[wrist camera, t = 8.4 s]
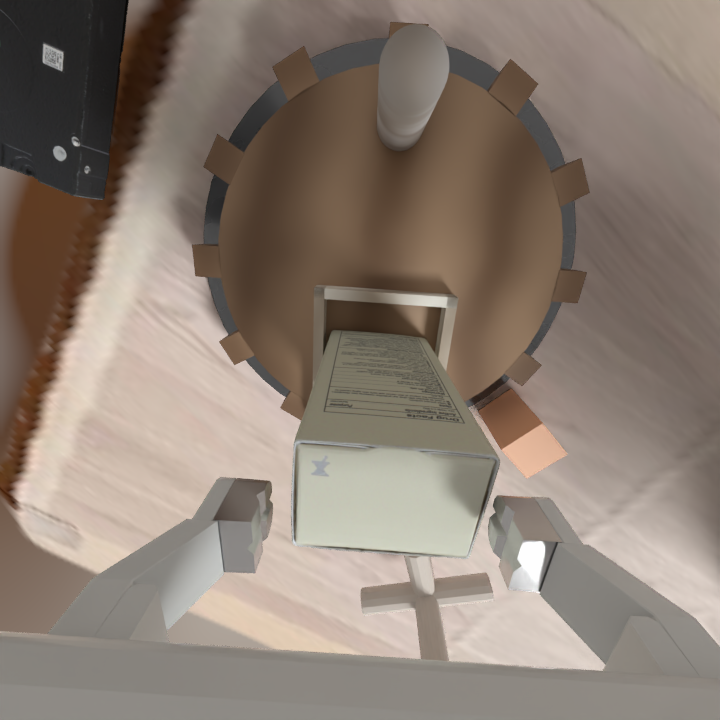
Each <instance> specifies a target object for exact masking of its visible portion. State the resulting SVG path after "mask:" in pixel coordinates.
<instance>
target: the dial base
mask: <svg viewBox="0 0 720 720" xmlns="http://www.w3.org/2000/svg"><path fill="white" fill-rule="evenodd" d="M388 40H389V38H387V39H371V40H366V41H361V42H356V43H351V44H346V45H343V46H341V47H338V48H335V49H333V50H330V51H327V52H325V53H322V54H319V55H317V56H315V57H313V58H312V59H310V61H311V63H312V66H313V68H314V70H315V72H316V75H317V77H318V79H319V81H321V80H323V79H325V78H327V77H330V76H332V75H335V74H338V73H341V72H344V71H347V70H349V69H352V68H358V67H363V66H369V65H374V64H379V62H380V57H381V54H382V51H383V49H384V47H385V45H386V43H387V41H388ZM446 48H447V51H448V55H449V72H450V73H453V74H456V75H459V76H461V77H463V78H465V79H467V80H468V81H470V82H472V83H474V84H476V85H478V86H480V87H482V88H483V89H485V90H486V91H487V90H488V89H489V87H490V86H491V84H492V83H493V81H494V80H495V78H496V77H497V75H498V74H499V72H498V71H496V70H495V69H494V68H492V67H491V66H490V65H488V64H487V63H485V62H483V61H481V60H479V59H477V58H475V57H473V56H471V55H469V54H467V53H465V52H463V51H461V50H457V49H454V48H451V47H448V46H446ZM287 102H288V99H287V97H286V95H285V93H284V91H283V89H282V87H281V84H280V82H279V80H278V81H277V82H276V83H275V84H273V85H272V86H271V87H269V89H268V90H267V91H266V92H265V93H264V94H263V95H262V96H261V97H260V98H259V99H258V100H257V101H256V102H255V103H254V104H253V105H252V107H251V108H250V109H249V110H248V112H247V113H246V114H245V116H244V117H243V119H242V120H241V122H240V123H239V124H238V126H237V127H236V129H235V130H234V131H233V133H232V135H231V137H230V139H229V142H230V143H232V144H233V145H235V146H236V147H237V148H239V149H240V150H242V151H243V152H245V150H246V148H247V147H248V145H249V144H250V142H251V141H252V140H253V138H254V137H255V136H256V134H257V133H258V132H259V130H260V129H261V127H262V126H263V125H264V124H265V123H266V122H267V121H268V120H269V119H270V118H271V117H272V116H273V115H274V114H275V113H276V112H277V111H278V110H279V109H280V108H281V107H282V106H283V105H284V104H285V103H287ZM516 117H517V118H518V119H519V120H520V121H521V122H522V123H523V124H524V126H525V127H526V129H527V130H528V131H529V133H530V134H531V136H532V137H533V138H534V140H535V141H536V142H537V144H538V146H539V148H540V150H541V152H542V154H543V156H544V158H545V160H546V162H547V164H548V166H549V168H550V171H551V170H553V169H555V168H557V167H559V166H562V165H564V164H565V162H564V159H563V156H562V153H561V150H560V148H559V146H558V144H557V142H556V140H555V138H554V136H553V134H552V132H551V130H550V129H549V127H548V125H547V123H546V122H545V121H544V119H543V118H542V116H541V115H540V114H539V112H538V111H537V109H536V108H535V107H534V105H533V104H532V102H531V101H530V100H529V99H527V101H526V102H525V104H524V105H523V107H522V108H521V109H520V111H519V112H518V114H517V115H516ZM228 187H229V184H228V183H226V182H225V181H223V180H222V179H220V178H219V177H217V176H216V175H215V174H214V176H213V179H212V182H211V187H210V191H209V196H208V201H207V205H206V213H205V225H204V244H217V245H219V244H218V239H219V229H220V220H221V213H222V209H223V205H224V201H225V196H226V192H227V189H228ZM560 209H561V214H562V230H563V246H562V260H561V267H560V268H562V269H571V268H572V263H573V258H574V248H575V235H576V223H575V203H574V201H572V202H570V203H567V204H565V205H563V206H561V207H560ZM208 282H209V286H210V289H211V293H212V296H213V299H214V303H215V306H216V308H217V311H218V313H219V315H220V318H221V320H222V322H223V325H224V327H225V329H226V331H227V332H228V334H231V333H233V332H234V331H236V330H238V329H237V327H236V325H235V322H234V320H233V317H232V315H231V313H230V310H229V308H228V305H227V301H226V297H225V294H224V290H223V286H222V281H221V278H214V277H208ZM561 303H562V302H553V301H551V304H550V307H549V309H548V312H547V314H546V316H545V318H544V320H543V322H542V324H541V326H540V328H539V330H538V332H537V333H536V335H535V336H534V338H533V339H532V341H531V343H530V344H529V346H528V347H527V349H526V350H525V351H524V352H525V353H527V354H528V355H529V356H531V355H532V353H533V352H534V351H535V350H536V348H537V347H538V346H539V344H540V342H541V341H542V339H543V338H544V336H545V335H546V333H547V331H548V330H549V328H550V326H551V324H552V322H553V320H554V318H555V316H556V314H557V312H558V310H559V308H560V306H561ZM246 361H247V362H248V364H249V365H250V366H251V367H252V368H253V369H254V370H255V371H256V372H257V373H258V374H259V375H260V376H261V378H262V379H263V380H265V381H266V382H267V383H268V384H269V385H271V386H272V387H273V388H274V389H275V390H276V391H278V392H279V393H280V394H282V395H283V396H285V397H286V396H287V394H288V393H289V391H290V390H288V389H287V388H286V387H284V386H283V385H282V384H281V383H280V382H279V381H278V380H276V379H275V378H274V377H273V376H272V375H271V374H270V373H269V372H268V371H267V370H266V369H265V368H264V367H263V366H262V364H261V363H260V362H259V361H258V360H257V359H256V357H255V356H252V357H250V358H248V359H246ZM508 379H509V377H508V376H506V375H505V374H503V375H502V376H501V377H500V378H499V379H498V380H496V381H495V382H494V383H493V384H491V385H490V386H489V387H488V388H486V389H485V390H484V391H482V392H481V393H479V394H477V395H476V396H474V397H472V398H471V399H469V400H467V401H466V402H465V404H466V405H467V407H470V406H472V405H473V404H475V403H477V402H478V401H480V400H481V399H483V398H485V397H486V396H488V395H490V394H491V393H492V392H493V391H495V390H496V389H497V388H499V387H500V386H501V385H502V384H504V383H505V382H506V381H507V380H508Z"/></svg>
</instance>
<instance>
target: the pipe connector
mask: <svg viewBox="0 0 720 720" xmlns="http://www.w3.org/2000/svg"><path fill="white" fill-rule="evenodd" d="M404 557H405V561H406V565H407V569H408V573H409V577H410V581H411V582H405V583H397V584H389V585H381V586H373V587H365V588H362V589H361V606H362V612H363V614H364V616H366V615H375V614H384V613H393V612H401V611H410V610H416V618H417V627H418V636H419V645H420V653H421V659H425V660H440V661H449V657H448V652H447V646H446V640H445V634H446V632H445V628H444V623H443V618H442V614H441V609H440V607H445V606H454V605H463V604H472V603H481V602H489V601H494V595H493V591H492V587H491V583H490V580H489V577H488V574H487V573H478V574H470V575H462V576H454V577H446V578H438V579H434V573H433V568H432V562H431V557H423V556H407V555H404Z"/></svg>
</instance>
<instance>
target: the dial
mask: <svg viewBox="0 0 720 720" xmlns="http://www.w3.org/2000/svg"><path fill="white" fill-rule="evenodd" d="M428 26H429V24H414V23H398V22H390V32H389V40H388V41H387V43H386V45H385V47H384V49H383V51H382V54H381V57H380V62H379V64H374V65H369V66H363V67H358V68H352V69H349V70H347V71H344V72H341V73H338V74H335V75H332V76H330V77H327V78H325V79H323V80H321V81H319V79H318V77H317V75H316V72H315V70H314V68H313V66H312V63H311V61H310V59H309V56H308V54H307V52H306V50H305V47H304V46H303V47H302V48H300V49H299V50H297V51H296V52H294V53H293V54H291V55H290V56H288V57H287V58H285V59H284V60H282V61H281V62H279V63H278V64H276V65H275V66H273V70H274V72H275V74H276V76H277V78H278V80H279V82H280V84H281V87H282V89H283V91H284V93H285V95H286V97H287V99H288V102H287V103H285V104H284V105H283V106H282V107H281V108H280V109H279V110H278V111H277V112H276V113H275V114H274V115H273V116H272V117H271V118H270V119H269V120H268V121H267V122H266V123H265V124H264V125H263V126H262V127H261V129H260V130H259V132H258V133H257V134H256V136H255V137H254V138H253V140H252V141H251V142H250V144H249V145H248V147H247V148H246V150H245V152H243V151H242V150H240V149H239V148H237V147H236V146H235V145H233V144H232V143H230V142H229V141H227V140H226V139H224V138H223V137H221V136H219V135H218V134H217V136H216V139H215V141H214V143H213V146H212V148H211V150H210V153H209V155H208V157H207V160H206V162H205V165H204V168H206V169H207V170H209V171H210V172H212V173H213V174H215V175H216V176H217V177H219V178H220V179H222V180H223V181H225V182H226V183H228V184H229V187H228V189H227V192H226V196H225V201H224V205H223V209H222V213H221V220H220V229H219V239H218V244H219V245H217V244H197V245H192V248H193V257H194V267H195V276H200V277H214V278H221V281H222V286H223V290H224V294H225V297H226V301H227V305H228V308H229V310H230V313H231V315H232V317H233V320H234V322H235V325H236V327H237V329H238V330H236V331H234V332H233V333H231V334H229V335H228V336H227V337H225V338H224V339H222V340H221V341H219V342H220V344H221V345H222V347H223V348H224V350H225V351H226V353H227V354H228V356H229V357H230V359H231V360H232V362H233V363H234V365H236V364H238V363H240V362H242V361H244V360H246V359H248V358H250V357H252V356H255V357H256V359H257V360H258V361H259V362H260V363H261V364H262V366H263V367H264V368H265V369H266V370H267V371H268V372H269V373H270V374H271V375H272V376H273V377H274V378H275V379H276V380H278V381H279V382H280V383H281V384H282V385H283V386H284V387H286V388H287V389H288V390H290V391H289V393H288V394H287V396H286V398H285V400H284V402H283V404H282V406H281V407H280V408H281V409H283V410H284V411H286V412H288V413H290V414H291V415H293V416H295V417H296V418H298V419H300V420H302V418H303V415H304V412H305V409H306V406H307V403H308V400H309V397H310V394H311V391H312V388H313V385H314V382H315V379H316V376H317V373H318V370H319V367H320V364H321V361H322V358H323V355H324V352H325V349H326V346H327V343H328V340H329V337H330V334H331V332H332V331H333V330H341V331H359V332H373V333H384V334H395V335H404V336H413V337H421V338H425V339H426V340H427V341H428V343H429V345H430V346H431V348H432V350H433V351H434V353H435V354H436V356H437V357H438V359H439V361H440V363H441V364H442V366H443V368H444V369H445V371H446V372H447V374H448V376H449V377H450V379H451V381H452V382H453V384H454V386H455V387H456V389H457V390H458V392H459V394H460V395H461V397H462V399H463V400H464V402H466V401H467V400H469V399H471V398H472V397H474V396H476V395H477V394H479V393H481V392H482V391H484V390H485V389H486V388H488V387H489V386H490V385H491V384H493V383H494V382H495V381H496V380H498V379H499V378H500V377H501V376H502V375H503V374H505V375H506V376H508V377H509V378H511V379H512V380H514V381H515V382H517V383H518V384H520V385H521V386H523V385H524V384H525V382H526V381H527V380H528V379H529V378H530V377H531V376H532V375H533V374H534V373H535V372H536V371H537V370H538V369H539V368H540V367H541V366H542V365H541V364H540V363H538V362H537V361H536V360H534V359H533V358H532V357H531V356H529V355H528V354H527V353H525V352H524V351H525V350H526V349H527V347H528V346H529V344H530V343H531V341H532V339H533V338H534V336H535V335H536V333H537V332H538V330H539V328H540V326H541V324H542V322H543V320H544V318H545V316H546V314H547V312H548V309H549V307H550V304H551V301H553V302H567V303H578V300H579V297H580V294H581V290H582V287H583V284H584V280H585V277H586V273H587V272H582V271H577V270H571V269H562V268H560V267H561V260H562V246H563V230H562V214H561V209H560V207H561V206H563V205H565V204H567V203H570V202H572V201H574V200H576V199H578V198H580V197H582V196H584V195H586V194H588V193H590V192H589V188H588V184H587V180H586V175H585V171H584V167H583V163H582V158H581V159H578V160H575V161H572V162H570V163H567V164H564V165H562V166H559V167H557V168H555V169H553V170H551V171H550V168H549V166H548V164H547V162H546V160H545V158H544V156H543V154H542V152H541V150H540V148H539V146H538V144H537V142H536V141H535V140H534V138H533V137H532V136H531V134H530V133H529V131H528V130H527V129H526V127H525V126H524V124H523V123H522V122H521V121H520V120H519V119H518V118H517V117H516V115H517V114H518V112H519V111H520V109H521V108H522V107H523V105H524V104H525V102H526V101H527V99H528V98H529V97H530V95H531V94H532V92H533V91H534V89H535V88H536V87H537V85H538V83H537V82H536V81H534V80H533V79H532V78H531V77H530V76H529V75H528V74H527V73H526V72H524V71H523V70H522V69H521V68H520V67H519V66H518V65H517V64H516V63H514V62H513V61H512V60H511V59H510V60H509V61H508V63H507V64H506V65H505V67H504V68H503V69H502V70H501V72H500V73H499V74H498V75H497V77H496V78H495V80H494V81H493V83H492V84H491V86H490V87H489V89H488V90H487V91H486V90H485V89H483V88H482V87H480V86H478V85H476V84H474V83H472V82H470V81H468V80H467V79H465V78H463V77H461V76H459V75H456V74H453V73H450V72H449V55H448V51H447V48H446V45H445V43H444V41H443V39H442V38H441V37H440V35H439V34H438V33H437V32H436V31H435V30H433V29H432V28H430V27H428Z"/></svg>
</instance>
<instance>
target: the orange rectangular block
mask: <svg viewBox="0 0 720 720" xmlns="http://www.w3.org/2000/svg"><path fill="white" fill-rule="evenodd" d="M478 412H479V413H480V415H481V417H482V419H483V420H484V422H485V424H486V425H487V427H488V429H489V430H490V432H491V434H492V435H493V437H494V439H495V440H496V442H497V444H498V445H499V447H500V449H501V450H502V451H503V452H504V453H505V455H506V456H507V457H508V458H509V459H510V460H511V461H512V463H513V464H514V465H515V466H516V467H517V468H518V469H519V471H520V472H521V473H522V474H523V475H524V476H525V477H526V479H527V478H529V477H531V476H532V475H534V474H536V473H537V472H539V471H541V470H542V469H544V468H546V467H547V466H549V465H551V464H552V463H554V462H556V461H558V460H559V459H561V458H563V457H564V456H566V455H568V454H567V453H566V451H565V450H564V449H563V448H562V446H561V445H560V444H559V443H558V441H557V440H556V439H555V438H554V436H553V435H552V434H551V433H550V432H549V430H548V429H547V428H546V427H545V425H544V424H543V423H542V422H541V421H540V420H539V418H538V417H537V416H536V415H535V414H534V413H533V412H532V411H531V410H530V409H529V407H528V406H527V405H526V404H525V403H524V402H523V401H522V400H521V399H520V397H519V396H518V395H517V394H516V393H515V392H514V391H513V390H512V389H510V390H508V391H507V392H505V393H504V394H502V395H501V396H499V397H498V398H496V399H495V400H493V401H492V402H491V403H489V404H488V405H486V406H485V407H483V408H482V409H480V410H479V411H478Z"/></svg>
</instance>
